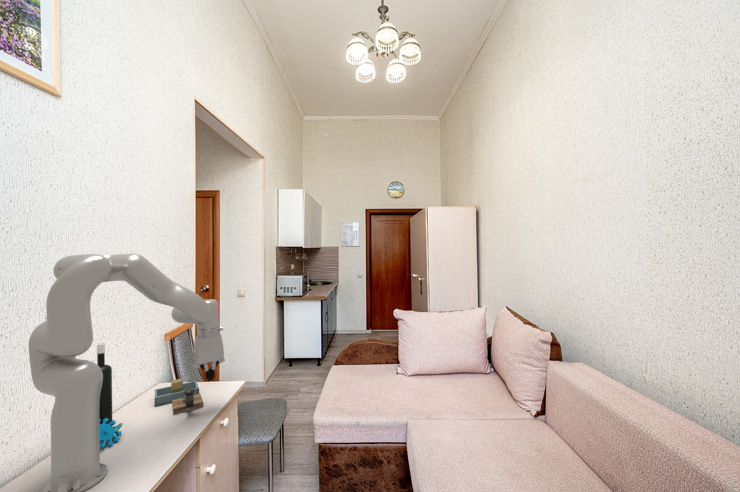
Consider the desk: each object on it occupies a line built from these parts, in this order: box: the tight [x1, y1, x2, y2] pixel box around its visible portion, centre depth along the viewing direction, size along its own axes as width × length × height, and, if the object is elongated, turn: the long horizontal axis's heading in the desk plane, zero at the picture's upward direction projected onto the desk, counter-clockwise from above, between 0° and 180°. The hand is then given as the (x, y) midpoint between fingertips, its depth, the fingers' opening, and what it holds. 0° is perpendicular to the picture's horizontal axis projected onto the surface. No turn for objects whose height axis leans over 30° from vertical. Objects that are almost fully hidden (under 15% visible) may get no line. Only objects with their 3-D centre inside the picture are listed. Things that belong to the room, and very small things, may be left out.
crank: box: [183, 388, 195, 412], centre depth 124 cm, size 13×4×7 cm, turn 34°
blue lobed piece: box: [99, 418, 124, 450], centre depth 104 cm, size 11×6×10 cm
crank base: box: [171, 393, 204, 416], centre depth 128 cm, size 10×10×2 cm
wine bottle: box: [96, 342, 113, 426], centre depth 112 cm, size 6×6×30 cm
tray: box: [154, 380, 200, 408], centre depth 137 cm, size 11×16×4 cm
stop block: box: [170, 378, 184, 394], centre depth 137 cm, size 4×4×6 cm
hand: (210, 379), depth 124 cm, fingers closed
